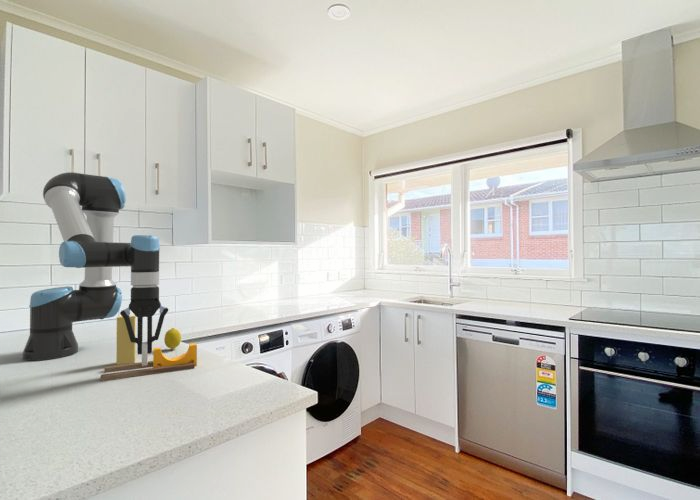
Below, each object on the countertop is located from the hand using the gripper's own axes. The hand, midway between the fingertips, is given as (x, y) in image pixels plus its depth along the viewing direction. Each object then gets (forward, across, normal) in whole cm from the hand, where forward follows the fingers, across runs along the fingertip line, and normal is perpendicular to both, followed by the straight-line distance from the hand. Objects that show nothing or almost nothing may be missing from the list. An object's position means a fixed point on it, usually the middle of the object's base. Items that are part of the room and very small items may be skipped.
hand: (144, 364), depth 111 cm
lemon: (+2, -8, -23) cm, 25 cm away
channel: (+2, -1, 0) cm, 2 cm away
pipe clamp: (+2, -8, 0) cm, 9 cm away
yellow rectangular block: (+2, +6, -12) cm, 14 cm away
